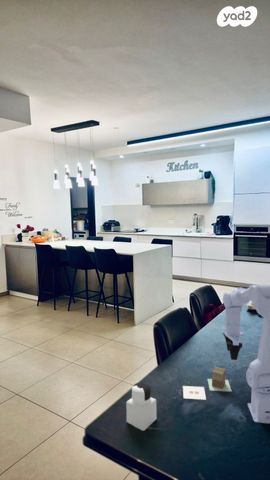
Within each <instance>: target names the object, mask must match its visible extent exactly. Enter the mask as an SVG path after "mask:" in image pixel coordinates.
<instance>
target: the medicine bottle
mask: <svg viewBox="0 0 270 480" xmlns="http://www.w3.org/2000/svg"><path fill="white" fill-rule="evenodd" d="M151 389H152V387H151V386H150V385H149V384H148V383H145V382H136V383H134V384H133V386H132V387H131V398H130V399H128V400H127V401H126V404H125V405H126V409H125V410H126V413H125V414H126V423H128V424H130V425H131V426H133V427H134V428H136V429H139V430H141V432H144V431H146V429H148V428H149V427H150V426H151V425H152V424H153V423H154V422H155V421H156V420H157V399H156V398H153V397H151V396H152V393H151V391H152V390H151Z"/></svg>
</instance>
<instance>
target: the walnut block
mask: <svg viewBox="0 0 270 480" xmlns="http://www.w3.org/2000/svg"><path fill="white" fill-rule="evenodd" d="M211 371H212V372H211V377H212V378H211V379H212V386H214V387H217V388H220V389H223V387H224V385H225V380H226V371H227V370H226V368H222V367H219V366H214V368H213V369H212V370H211Z"/></svg>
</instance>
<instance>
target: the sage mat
mask: <svg viewBox="0 0 270 480" xmlns="http://www.w3.org/2000/svg"><path fill="white" fill-rule="evenodd" d="M207 383H208V388H209V391H212V392H213V391H214V392H215V391H216V392H233V391H232V389H231V385H230V381H229V379H225V385H224V387H223V389H220V388H217V387H214V386H212V378H207Z"/></svg>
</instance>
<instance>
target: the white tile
mask: <svg viewBox="0 0 270 480" xmlns="http://www.w3.org/2000/svg"><path fill="white" fill-rule="evenodd" d="M182 392H183V395H182V396H183V399H186V400H187V399H188V400H189V399H191V400H204V401H205V400H207V396H206V391H205V387H204V386H192V385H191V386H190V385H182Z"/></svg>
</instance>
